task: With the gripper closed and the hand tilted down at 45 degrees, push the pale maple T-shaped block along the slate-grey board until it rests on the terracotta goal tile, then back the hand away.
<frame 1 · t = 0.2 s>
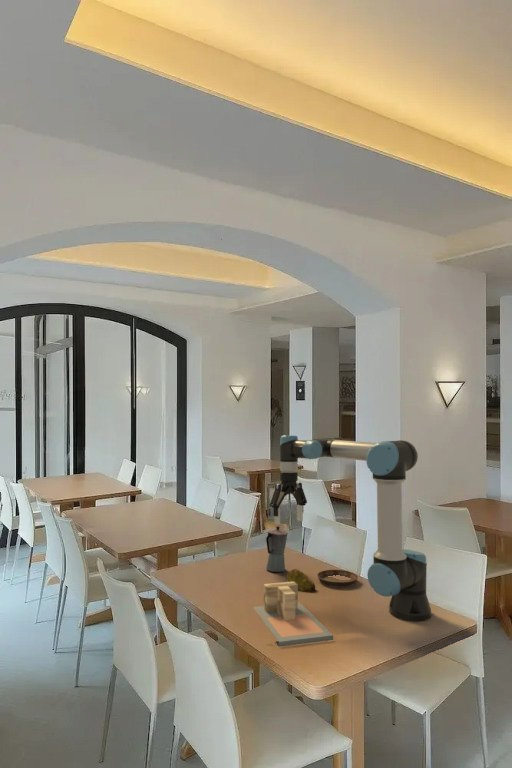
hand: (288, 522, 226), 28 cm above the table, tool pointing down, fingers open, 13 cm apart
t block: (280, 609, 198), point 1 cm above the table, touching board
potato: (300, 591, 222), on the table
board: (290, 624, 188), on the table
moka pot: (275, 570, 249), on the table
plant saucer: (337, 582, 234), on the table
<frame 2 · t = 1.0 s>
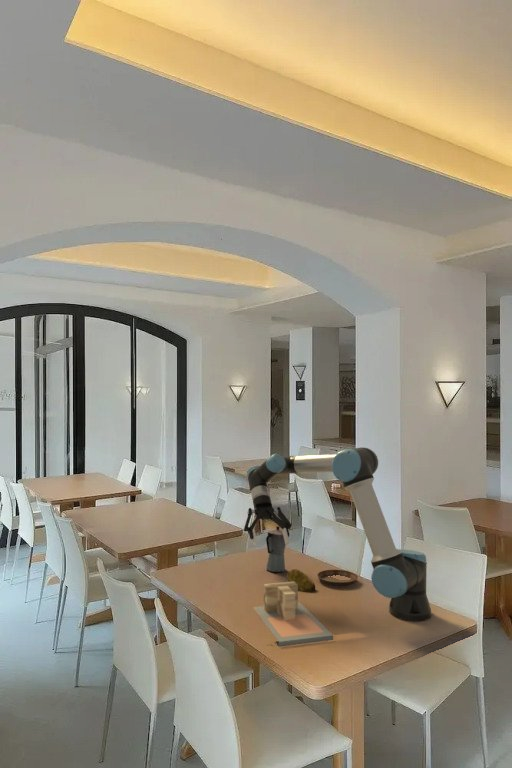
hand: (271, 545, 210), 22 cm above the table, tool tilted 45°, fingers open, 12 cm apart
nothing on the table moved.
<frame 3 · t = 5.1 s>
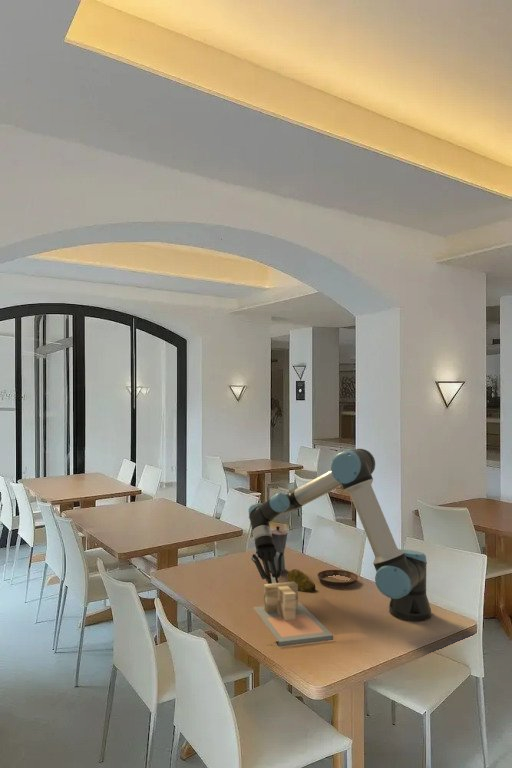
hand: (275, 595, 201), 6 cm above the table, tool tilted 45°, fingers closed
t block: (280, 609, 198), point 2 cm above the table, touching gripper
everything else where it was.
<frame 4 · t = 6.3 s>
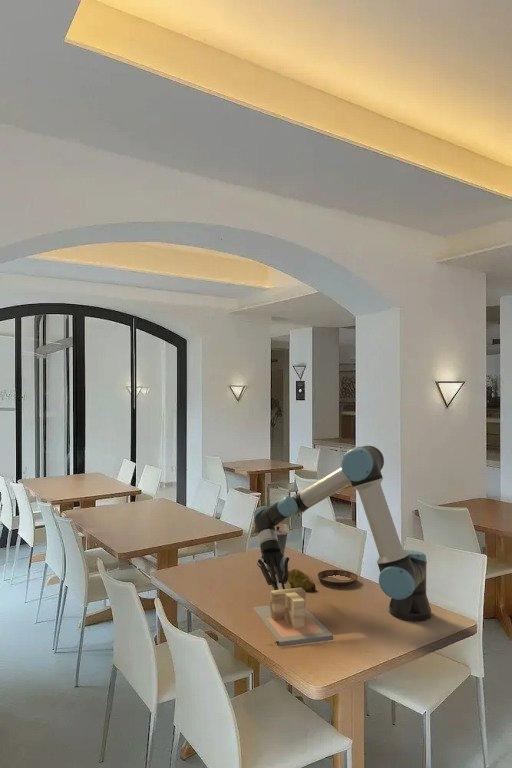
hand: (282, 601, 195), 6 cm above the table, tool tilted 45°, fingers closed
t block: (287, 616, 192), point 2 cm above the table, touching gripper
everything else where it was.
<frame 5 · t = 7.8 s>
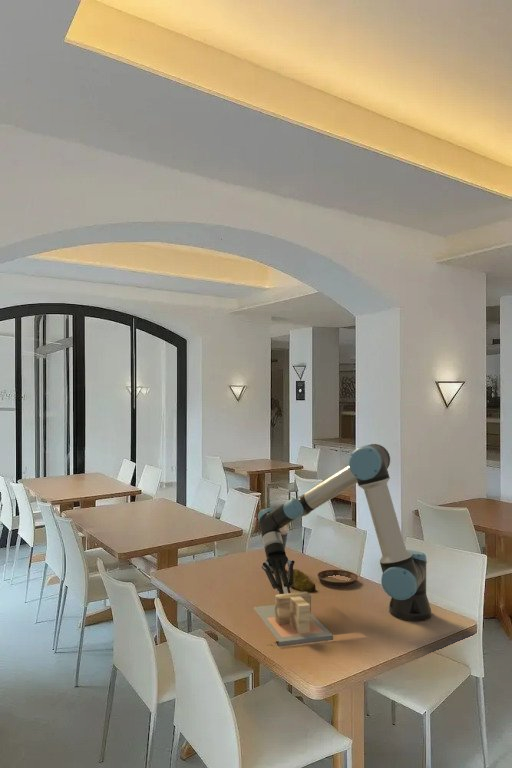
hand: (288, 606, 191), 6 cm above the table, tool tilted 45°, fingers closed
t block: (292, 621, 188), point 2 cm above the table, touching board, gripper
everything else where it was.
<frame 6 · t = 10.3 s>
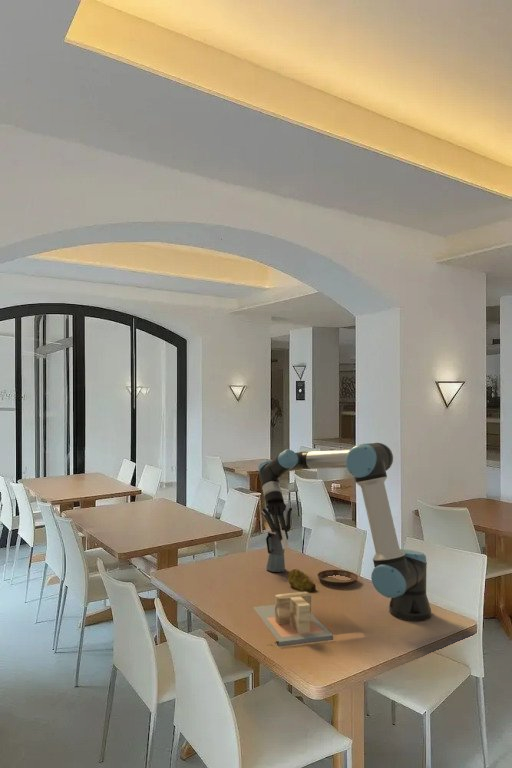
hand: (285, 547, 206), 22 cm above the table, tool tilted 40°, fingers closed
t block: (292, 621, 188), point 1 cm above the table, touching board
everything else where it was.
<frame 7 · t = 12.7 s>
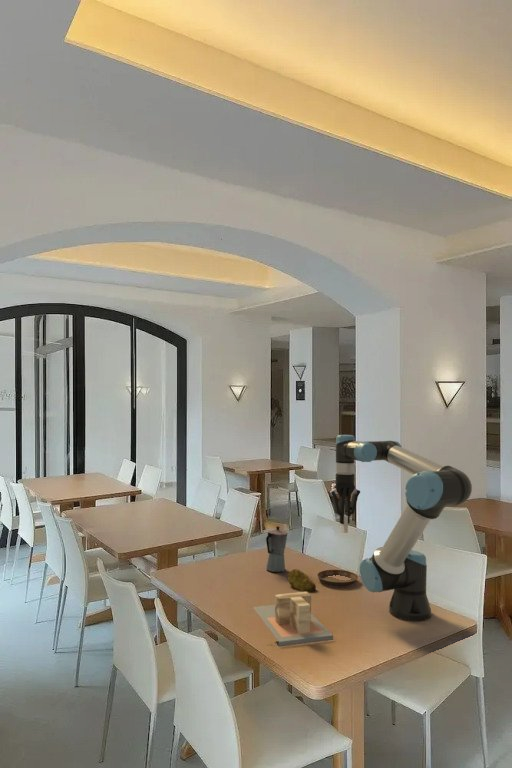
hand: (344, 531, 215), 26 cm above the table, tool pointing down, fingers closed
nothing on the table moved.
at the end: t block 1.0 cm from the board (horizontally); t block tilted 0°; t block moved 11.4 cm from its start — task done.
